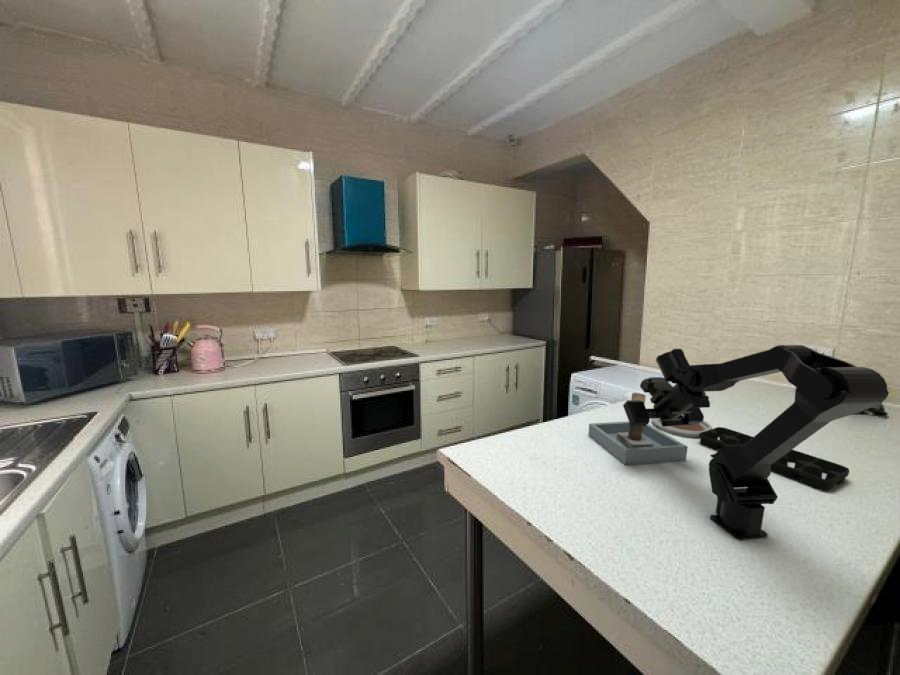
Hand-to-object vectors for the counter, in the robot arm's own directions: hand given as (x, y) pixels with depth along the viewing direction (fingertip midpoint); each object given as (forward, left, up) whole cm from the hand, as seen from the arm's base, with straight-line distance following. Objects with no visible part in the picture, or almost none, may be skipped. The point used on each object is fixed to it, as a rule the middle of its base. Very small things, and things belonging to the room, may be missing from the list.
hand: (646, 425), depth 97 cm
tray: (+5, 0, -9) cm, 10 cm away
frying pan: (+21, -23, -9) cm, 33 cm away
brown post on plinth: (+5, 0, -8) cm, 9 cm away
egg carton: (-7, -31, -9) cm, 33 cm away
